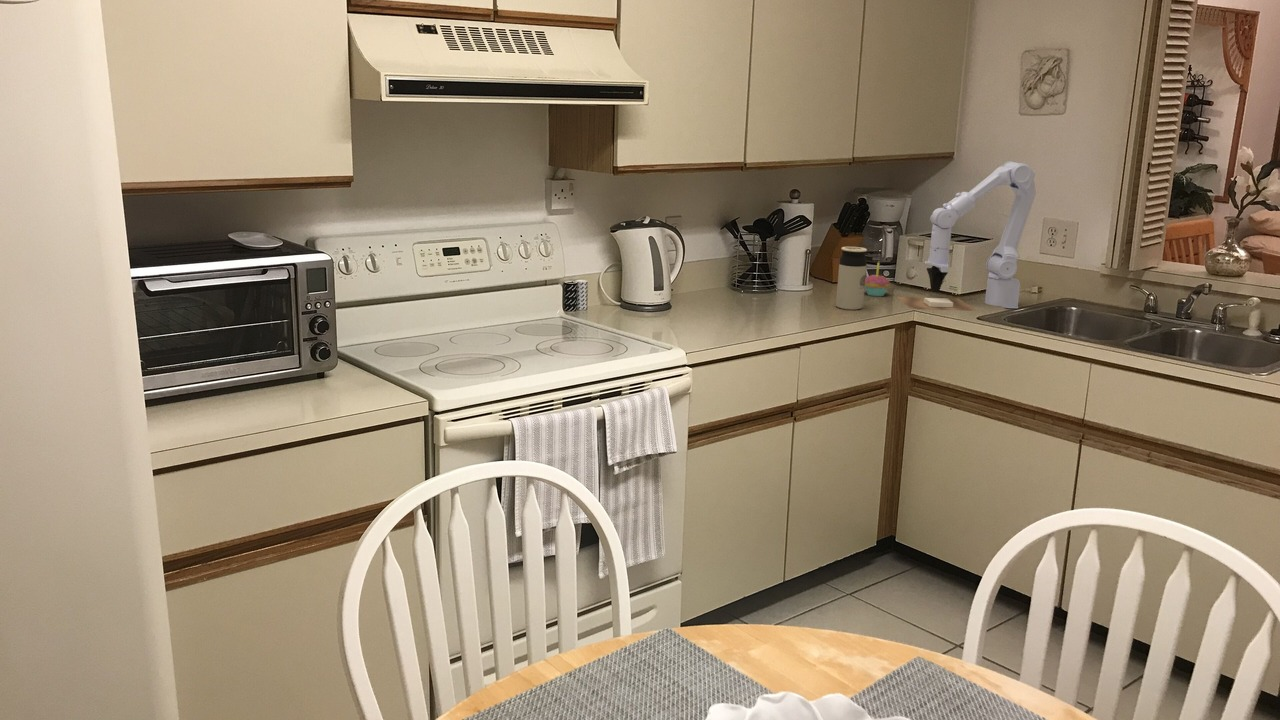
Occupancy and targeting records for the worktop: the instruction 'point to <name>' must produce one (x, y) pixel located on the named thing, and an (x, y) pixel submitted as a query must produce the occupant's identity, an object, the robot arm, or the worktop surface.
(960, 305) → the board
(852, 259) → the travel mug
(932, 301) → the tile
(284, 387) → the worktop surface
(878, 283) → the cupcake
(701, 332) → the worktop surface
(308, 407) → the worktop surface
